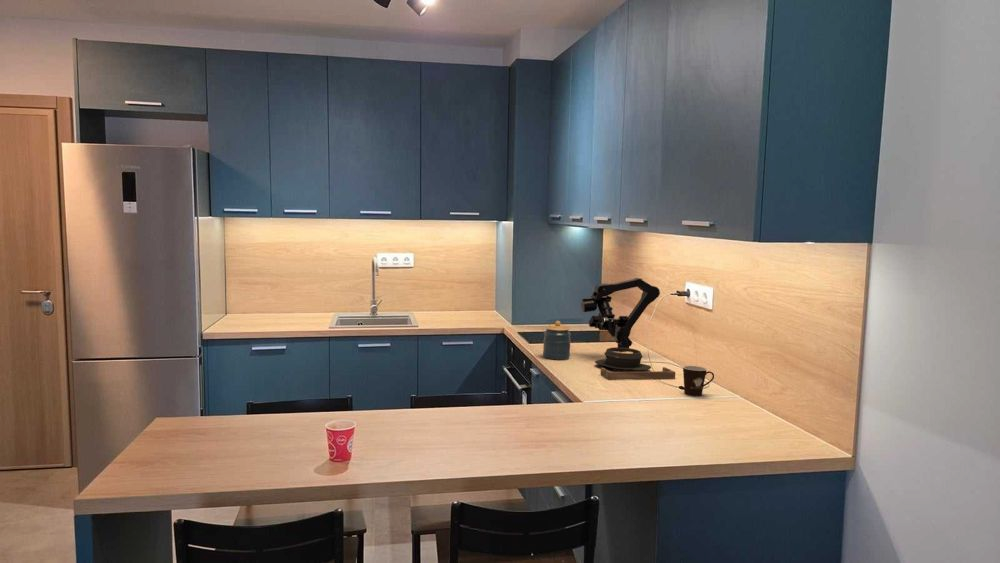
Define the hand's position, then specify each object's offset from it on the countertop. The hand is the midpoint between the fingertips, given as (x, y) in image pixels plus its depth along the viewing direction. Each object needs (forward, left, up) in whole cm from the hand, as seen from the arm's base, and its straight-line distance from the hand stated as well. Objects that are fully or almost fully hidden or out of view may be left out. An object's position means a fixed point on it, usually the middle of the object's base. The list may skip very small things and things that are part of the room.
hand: (613, 336), depth 299 cm
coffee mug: (+58, +10, -13) cm, 61 cm away
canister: (-12, -24, -13) cm, 29 cm away
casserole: (+13, -1, -13) cm, 18 cm away
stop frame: (+29, -1, -12) cm, 31 cm away
